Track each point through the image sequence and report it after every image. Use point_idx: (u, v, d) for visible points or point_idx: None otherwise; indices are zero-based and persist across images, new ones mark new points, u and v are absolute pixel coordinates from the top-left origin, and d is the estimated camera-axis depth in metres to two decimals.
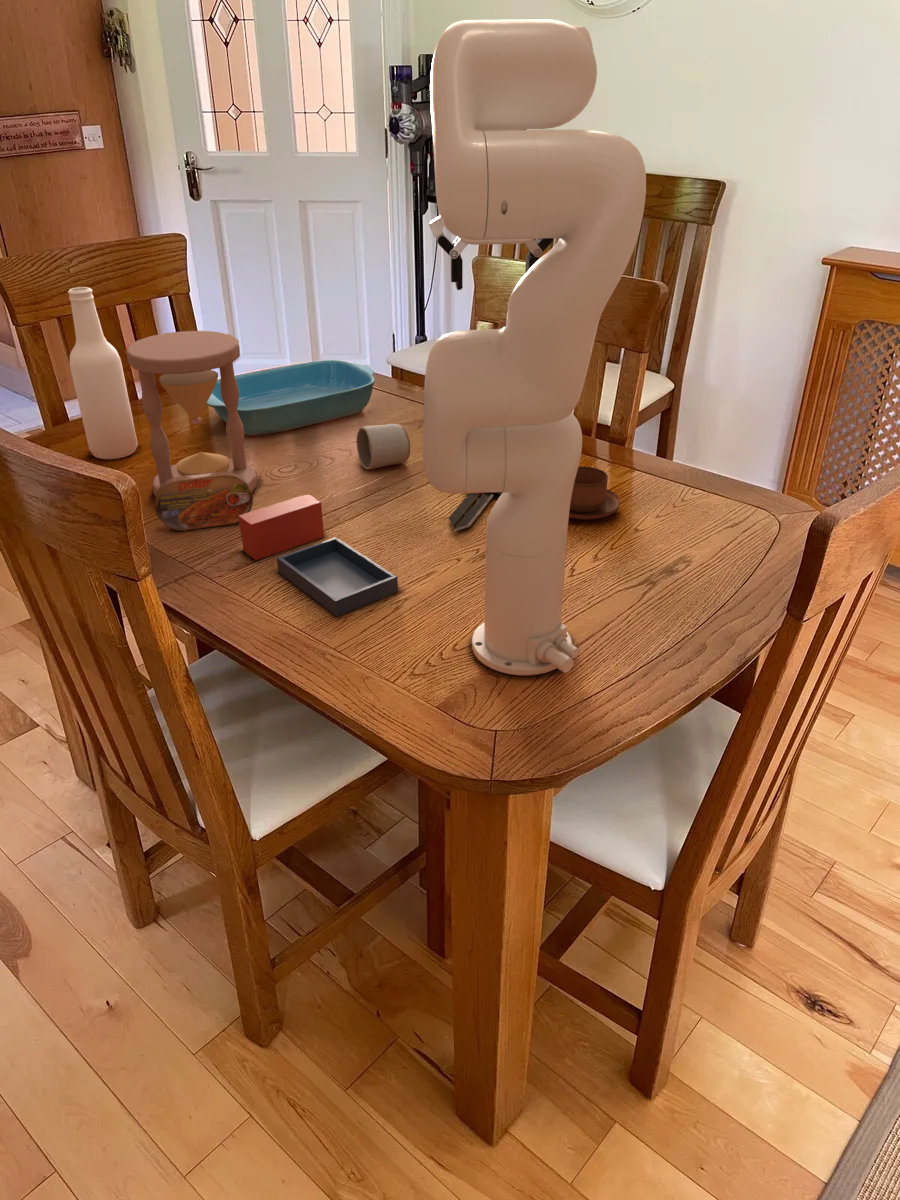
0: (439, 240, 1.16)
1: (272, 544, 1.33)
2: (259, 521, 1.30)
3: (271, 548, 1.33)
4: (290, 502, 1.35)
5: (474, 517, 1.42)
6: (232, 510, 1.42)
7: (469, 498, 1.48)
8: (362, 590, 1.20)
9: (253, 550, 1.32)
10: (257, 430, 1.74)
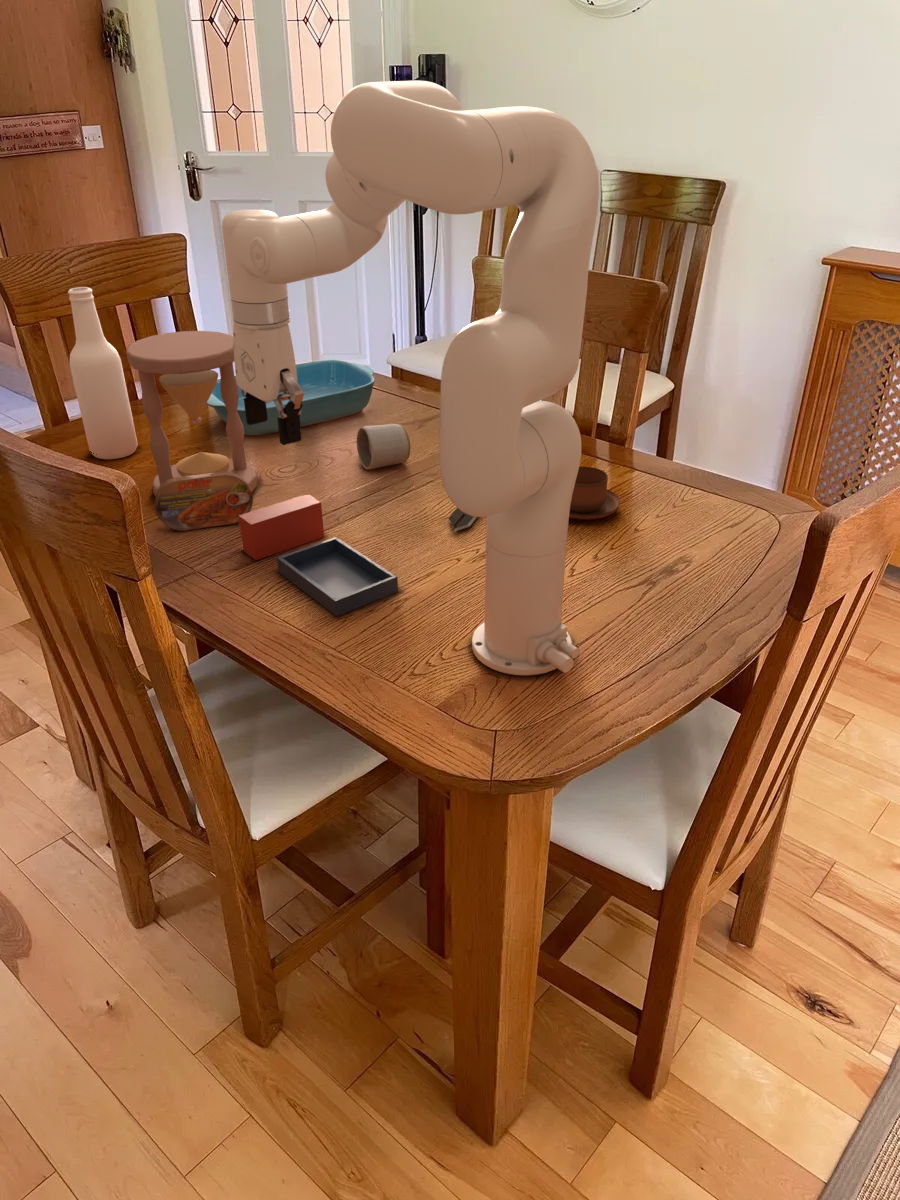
0: None
1: (272, 544, 1.33)
2: (259, 521, 1.30)
3: (271, 548, 1.33)
4: (290, 502, 1.35)
5: (474, 517, 1.42)
6: (232, 510, 1.42)
7: None
8: (362, 590, 1.20)
9: (253, 550, 1.32)
10: (257, 430, 1.74)
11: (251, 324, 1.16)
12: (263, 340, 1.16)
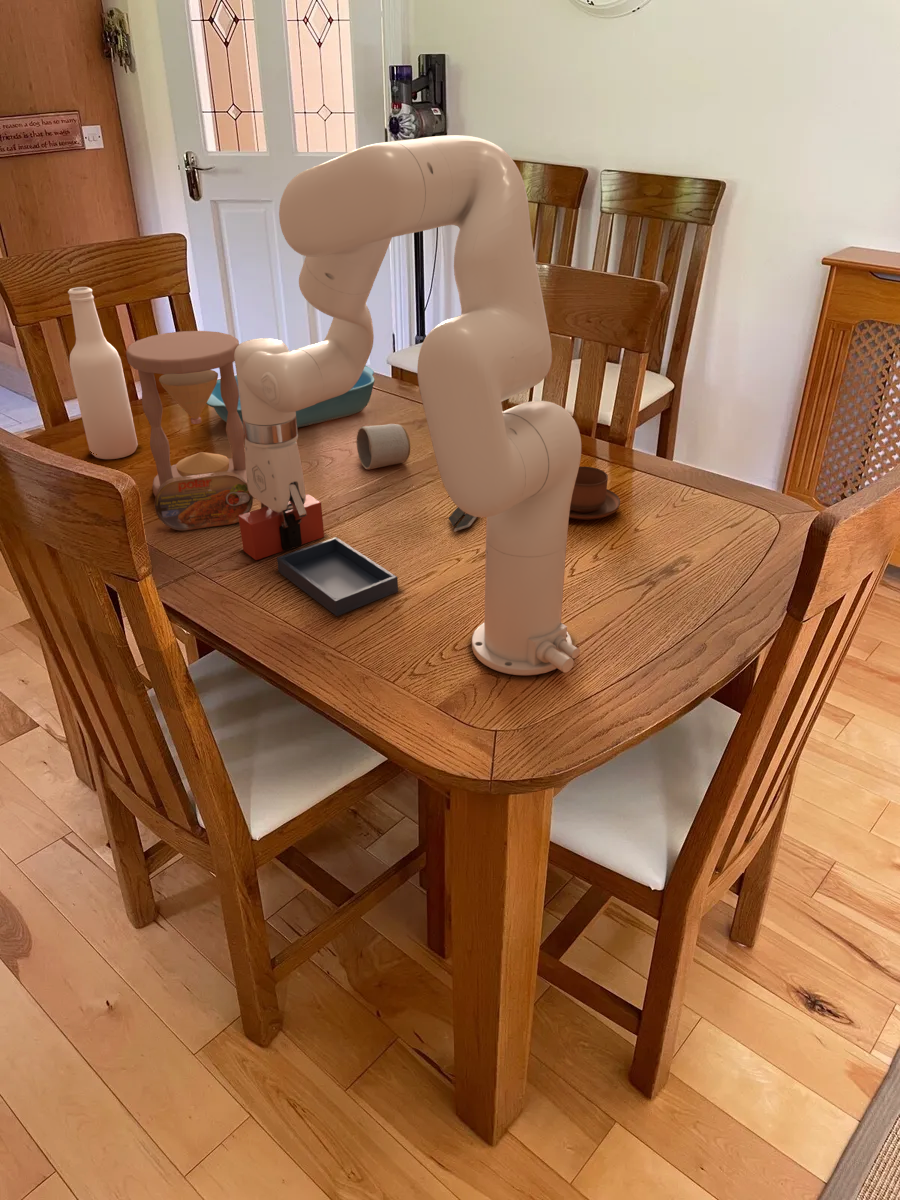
0: None
1: (272, 544, 1.33)
2: (259, 521, 1.30)
3: (271, 548, 1.33)
4: (290, 502, 1.35)
5: (474, 517, 1.42)
6: (232, 510, 1.42)
7: None
8: (362, 590, 1.20)
9: (253, 550, 1.32)
10: None
11: (262, 443, 1.24)
12: (273, 458, 1.24)
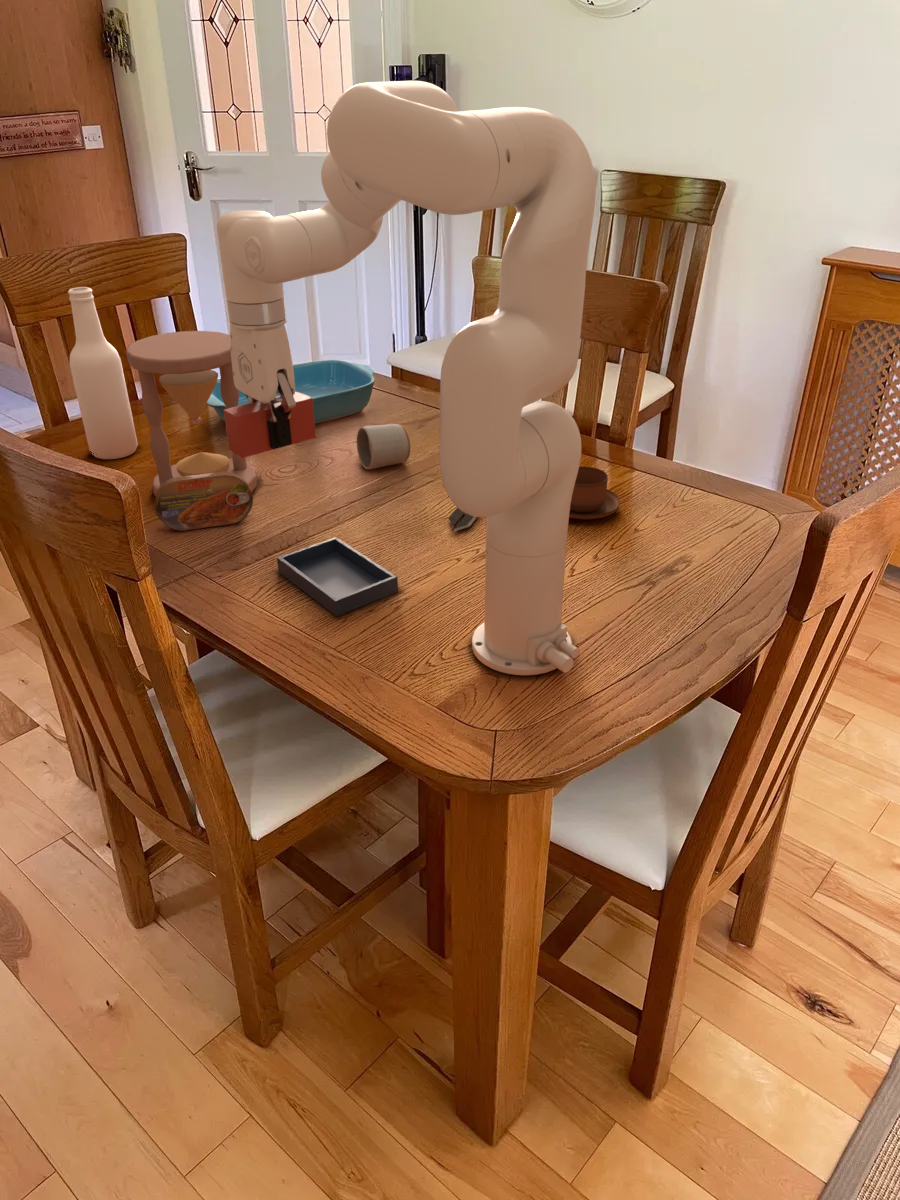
0: None
1: (259, 440, 1.24)
2: (245, 414, 1.21)
3: (258, 446, 1.24)
4: None
5: (474, 517, 1.42)
6: (232, 510, 1.42)
7: None
8: (362, 590, 1.20)
9: (240, 446, 1.23)
10: None
11: (247, 325, 1.16)
12: (260, 340, 1.16)
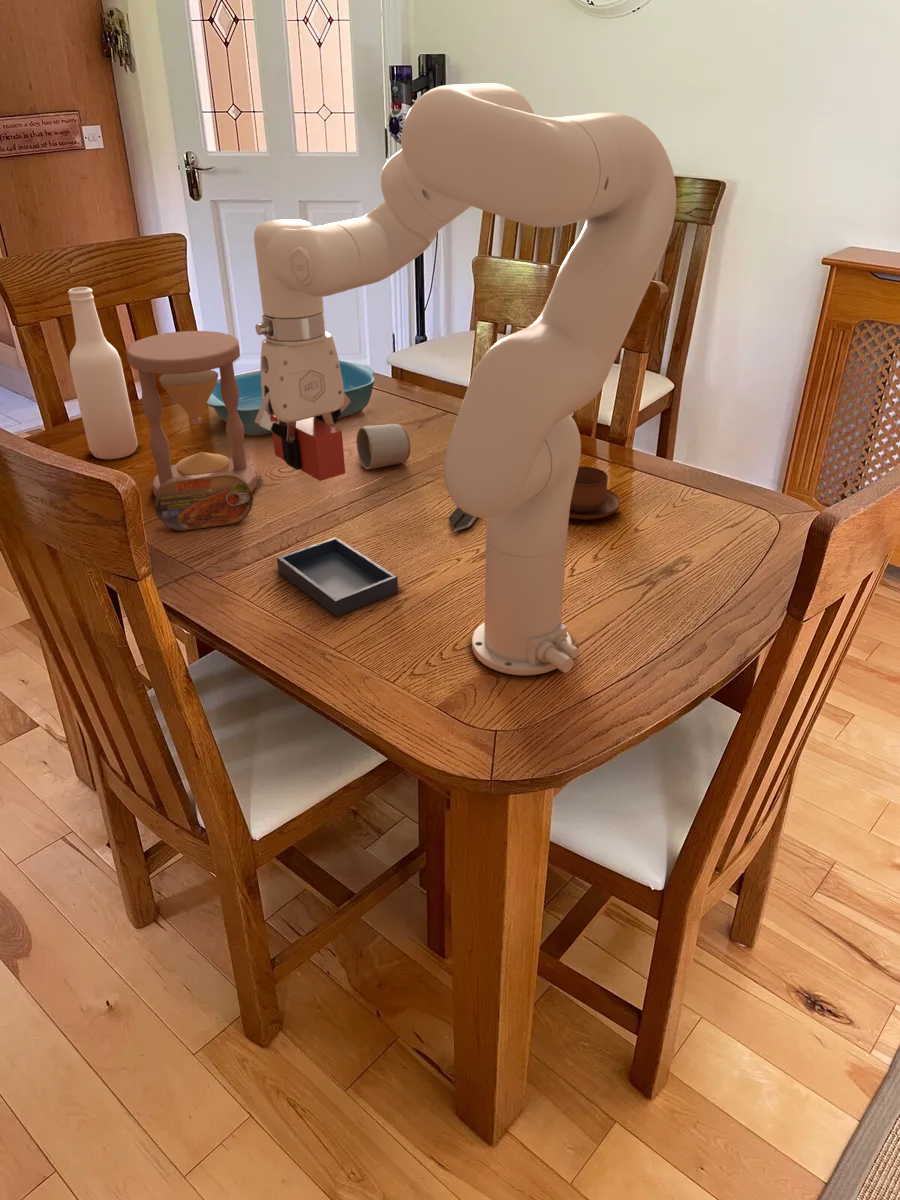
0: (275, 428, 1.15)
1: None
2: (334, 428, 1.16)
3: None
4: None
5: (474, 517, 1.42)
6: (232, 510, 1.42)
7: None
8: (362, 590, 1.20)
9: (343, 462, 1.18)
10: (257, 430, 1.74)
11: (323, 333, 1.12)
12: (334, 344, 1.14)
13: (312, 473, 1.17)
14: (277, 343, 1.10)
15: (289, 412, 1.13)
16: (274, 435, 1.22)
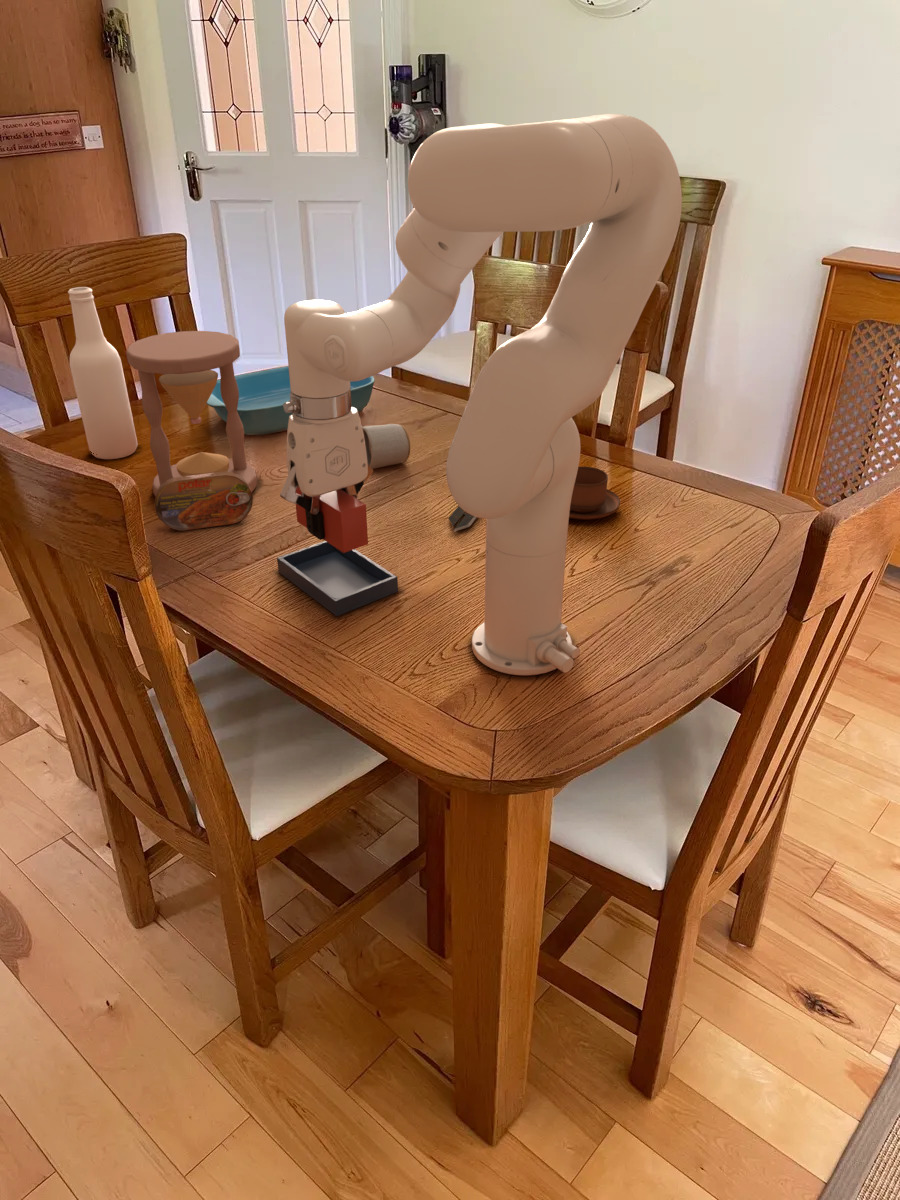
0: (299, 501, 1.16)
1: None
2: (358, 500, 1.18)
3: None
4: None
5: (474, 517, 1.42)
6: (232, 510, 1.42)
7: None
8: (362, 590, 1.20)
9: (366, 534, 1.19)
10: (257, 430, 1.74)
11: (350, 410, 1.13)
12: None
13: (335, 544, 1.19)
14: (304, 421, 1.11)
15: (314, 487, 1.14)
16: None
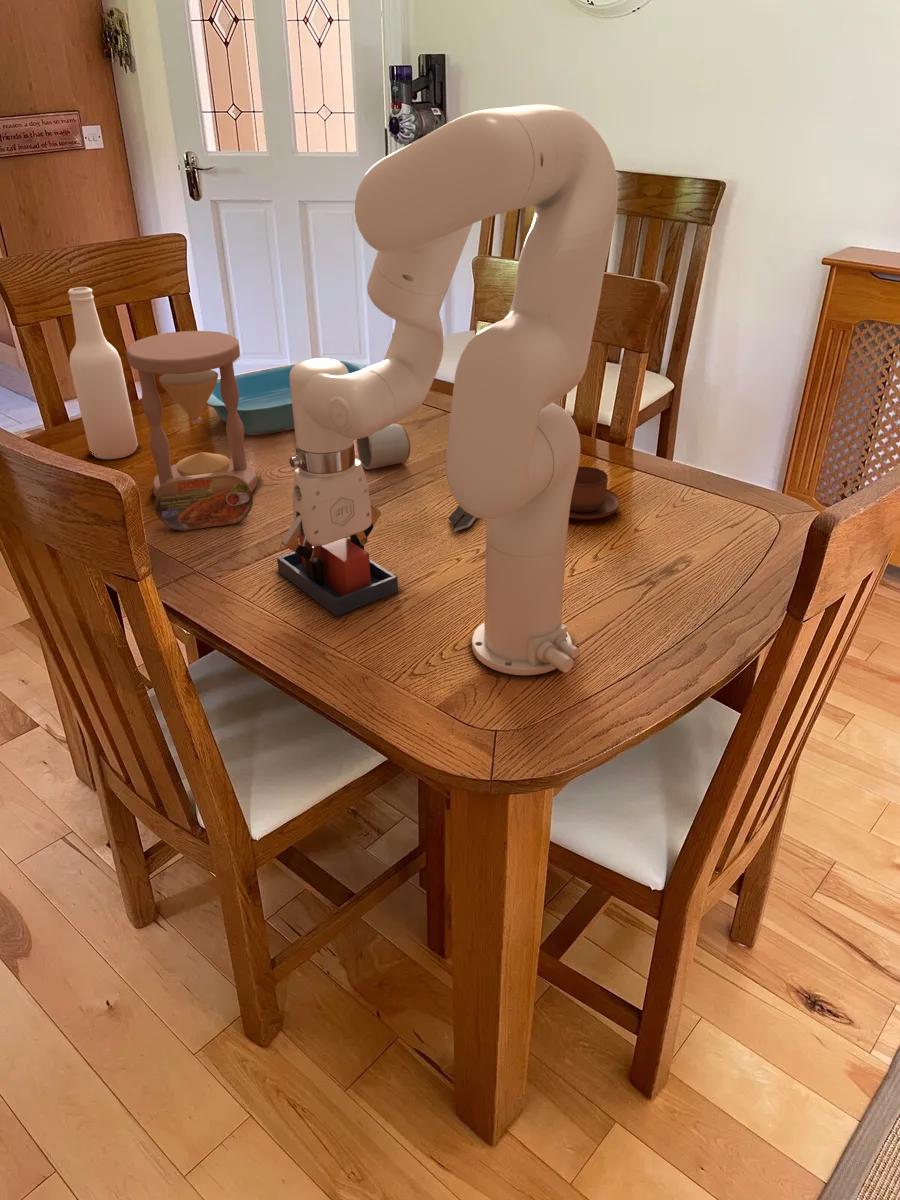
0: (299, 551, 1.19)
1: None
2: (361, 549, 1.21)
3: None
4: None
5: (474, 517, 1.42)
6: (232, 510, 1.42)
7: None
8: (362, 590, 1.20)
9: (369, 581, 1.23)
10: (257, 430, 1.74)
11: (354, 463, 1.17)
12: (363, 471, 1.19)
13: (340, 591, 1.23)
14: (310, 474, 1.15)
15: (320, 537, 1.18)
16: None
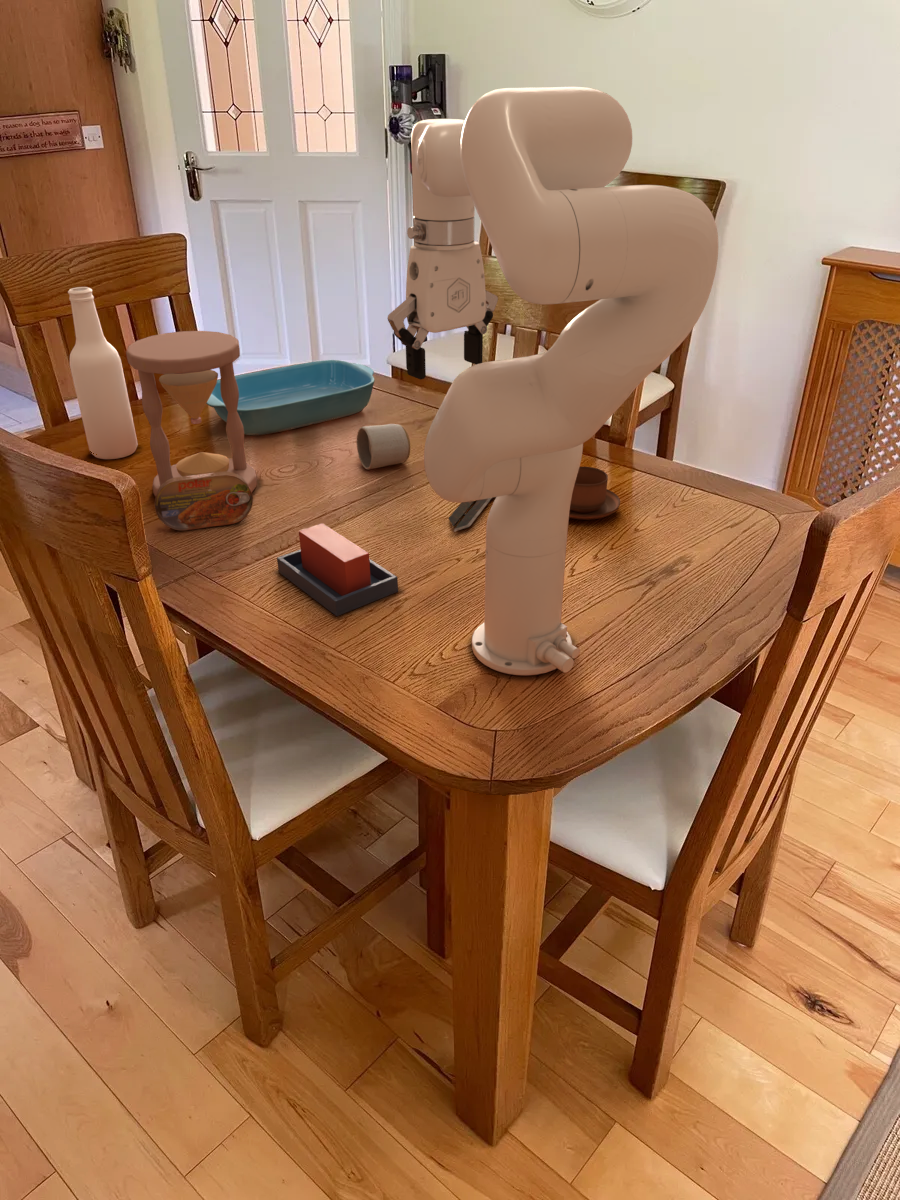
0: (402, 333, 1.11)
1: None
2: (361, 549, 1.21)
3: None
4: (318, 537, 1.25)
5: (474, 517, 1.42)
6: (232, 510, 1.42)
7: None
8: (362, 590, 1.20)
9: (369, 581, 1.23)
10: (257, 430, 1.74)
11: (473, 240, 1.09)
12: None
13: (340, 591, 1.23)
14: (429, 248, 1.07)
15: (436, 321, 1.11)
16: (302, 550, 1.28)
